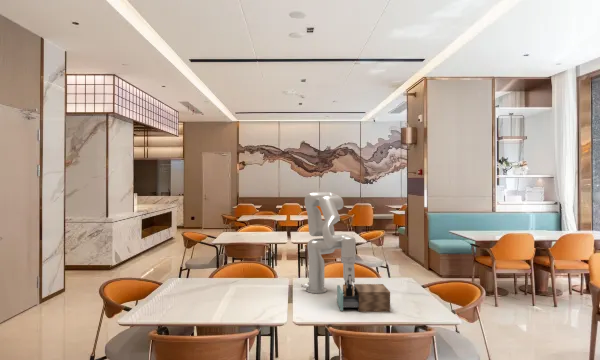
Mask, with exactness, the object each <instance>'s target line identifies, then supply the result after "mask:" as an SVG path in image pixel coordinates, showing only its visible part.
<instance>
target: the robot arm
mask: <svg viewBox="0 0 600 360" xmlns="http://www.w3.org/2000/svg"><path fill="white" fill-rule="evenodd" d="M318 207H320V209H321V210H320V209H319V208H318ZM343 207H344V200H343V197H341V196H340V195H338V194H336V193H333V192H331V191H314V192H309V193H307V194H305V197H304V208H305V211H306V213H307V225H308V226H307V227H308V232H309V233H308V234H309V235H310V236H311V237H320V238H313V239H309V241H308V242H307V253H308V282H307V283H301V285H300V286H301V288H303V289H304V288H305V291H306V292H308V293H311V294H325V293H326V292H328V289H327V287H325V260H324V258H323V256H322V255H326V254H327V255H328V254H332V253H334V252H335V250H341V251H340V252H341V253H340V254H341V255H340V256H341V257H340V259H341V260H340V261H341V264H342V266H343V267H342V269H343V271H342V273H343V280H344V284H347V288H346V296H352V285H353V284H355V282H356V279H355V264H356V262H357V261H356V260H357V259H356V249H357V248H356V237H354V236H351V235H348V234H336V233H335V226H334V225H335V224H337V223H338V222H339V221H340V219H341V217H340V214H339V212H338V211H340V210H343ZM322 215H323V218H324V220H323V218H322ZM321 237H323V238H321Z"/></svg>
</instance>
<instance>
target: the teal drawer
mask: <svg viewBox="0 0 600 360" xmlns="http://www.w3.org/2000/svg"><path fill="white" fill-rule="evenodd" d="M336 303H337V305H338V308H339V310H340V312H342V311H344V308H357V307H359V295H354V296H344V295H343V289H342V288H341V286H340V284H337V285H336Z"/></svg>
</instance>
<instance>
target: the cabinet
mask: <svg viewBox="0 0 600 360" xmlns="http://www.w3.org/2000/svg"><path fill="white" fill-rule="evenodd" d="M353 286H354V295H359V307H356V308H357V311H358V312H359V313H360V312H362V313H363V312H365V313H366V312H368V313H370V312H371V313H372V312H375V313H376V312H377V313H379V312H381V313H382V312H384V313H385V312H389V313H390V312H391V291H390V290H389V289H388V288H387V287H386V285H384V284H383V283H353Z"/></svg>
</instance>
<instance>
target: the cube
mask: <svg viewBox="0 0 600 360" xmlns="http://www.w3.org/2000/svg"><path fill="white" fill-rule="evenodd" d="M346 288H347V284H345V283H344V284H342V292H343V295H344V296H346ZM352 296H354V284H352Z"/></svg>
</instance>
